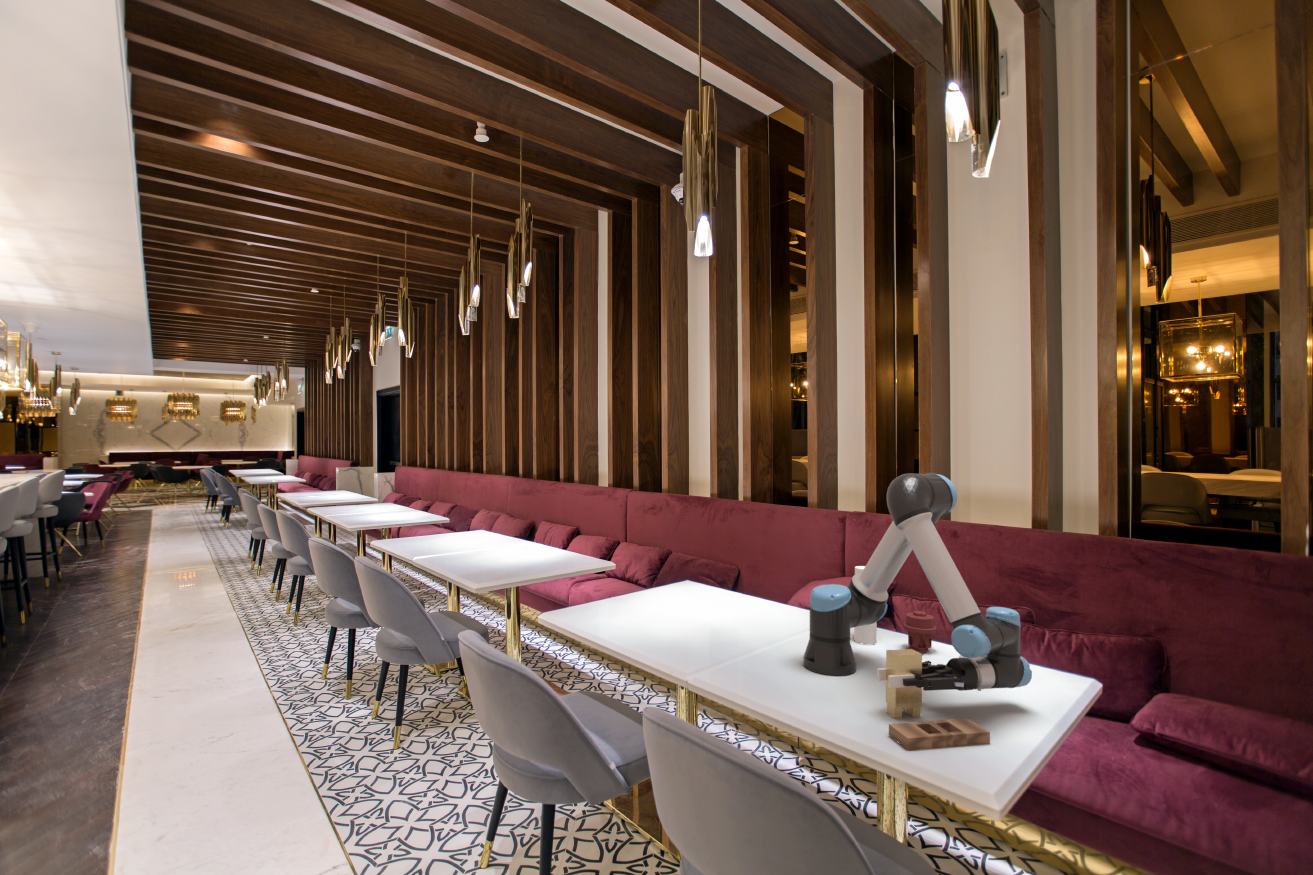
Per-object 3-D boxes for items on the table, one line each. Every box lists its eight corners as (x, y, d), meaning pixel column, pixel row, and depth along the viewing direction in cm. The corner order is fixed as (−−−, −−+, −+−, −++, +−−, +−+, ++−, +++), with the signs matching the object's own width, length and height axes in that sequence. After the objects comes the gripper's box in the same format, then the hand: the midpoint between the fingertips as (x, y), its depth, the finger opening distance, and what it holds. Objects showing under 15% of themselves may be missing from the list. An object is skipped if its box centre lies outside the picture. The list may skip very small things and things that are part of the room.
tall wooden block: (895, 719, 143) (895, 655, 144) (885, 712, 147) (886, 650, 148) (921, 717, 145) (922, 654, 145) (911, 710, 149) (911, 648, 149)
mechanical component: (932, 647, 201) (940, 656, 191) (900, 644, 203) (906, 653, 193) (932, 609, 201) (940, 617, 192) (900, 607, 203) (906, 614, 194)
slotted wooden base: (907, 750, 128) (907, 738, 128) (888, 735, 135) (888, 723, 135) (989, 743, 132) (989, 731, 132) (967, 729, 139) (967, 718, 139)
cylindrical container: (876, 639, 208) (876, 566, 209) (876, 645, 201) (877, 570, 202) (854, 637, 210) (855, 565, 211) (854, 643, 203) (854, 568, 204)
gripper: (994, 702, 141) (904, 708, 137) (946, 676, 158) (864, 680, 154) (994, 670, 142) (904, 674, 137) (946, 647, 158) (864, 651, 154)
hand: (883, 678), depth 145 cm, fingers closed on tall wooden block, 4 cm apart
